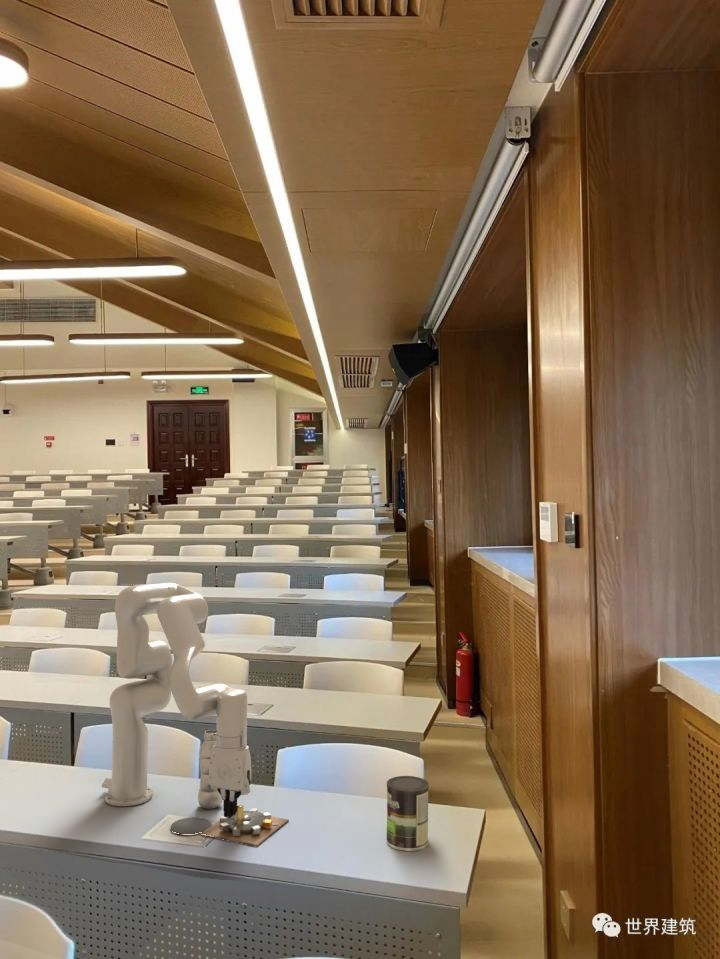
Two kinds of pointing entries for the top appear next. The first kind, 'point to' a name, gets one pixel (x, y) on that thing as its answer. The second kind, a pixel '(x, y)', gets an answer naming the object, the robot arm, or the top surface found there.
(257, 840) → the base plate
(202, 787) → the plastic bottle
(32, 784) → the top surface
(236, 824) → the sprocket
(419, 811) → the coffee can
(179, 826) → the pad
